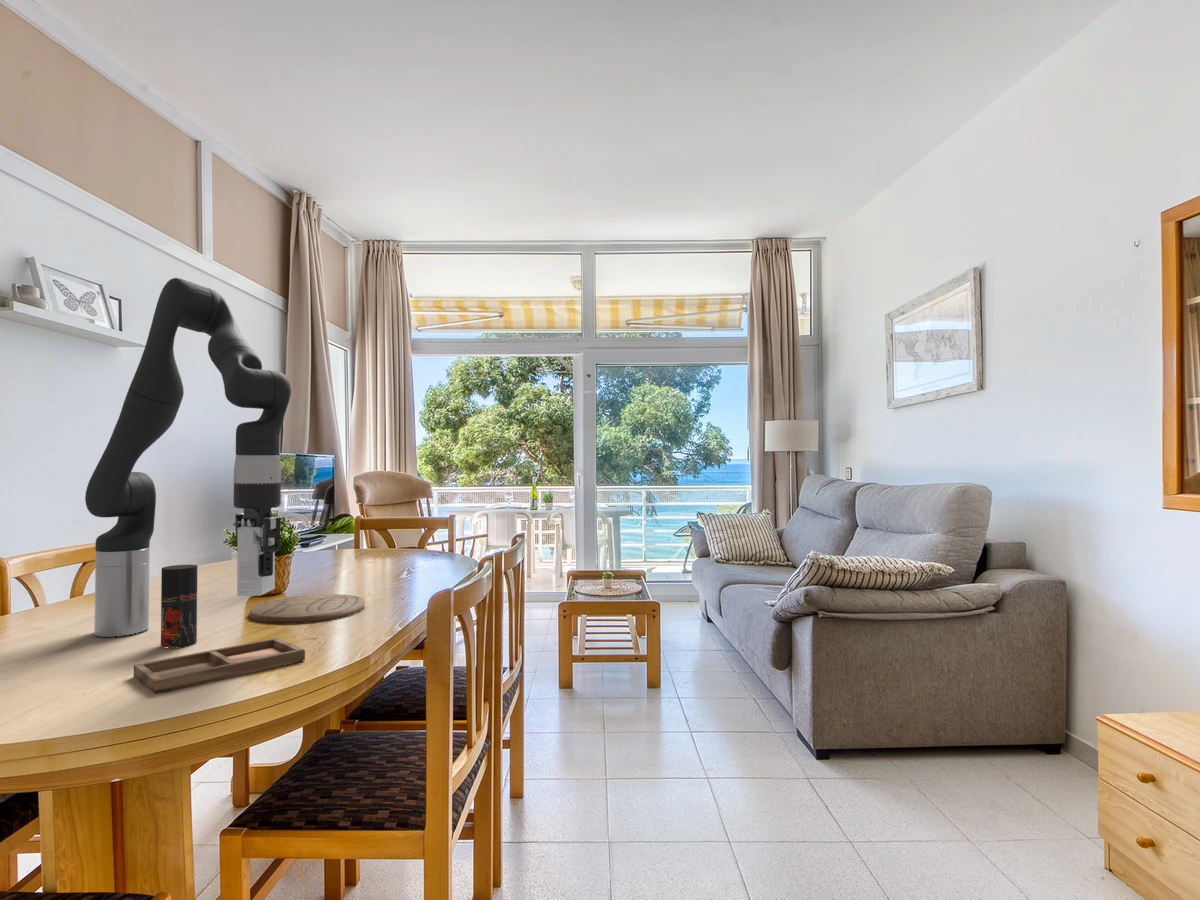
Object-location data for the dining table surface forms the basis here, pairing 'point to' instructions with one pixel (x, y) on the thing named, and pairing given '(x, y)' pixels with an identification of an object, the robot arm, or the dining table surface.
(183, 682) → the two-section desk tray
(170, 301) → the robot arm
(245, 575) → the skincare box
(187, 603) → the deodorant
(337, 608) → the trivet
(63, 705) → the dining table surface
